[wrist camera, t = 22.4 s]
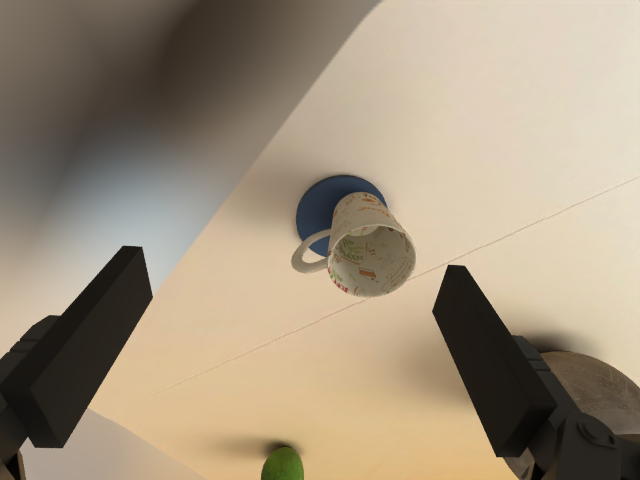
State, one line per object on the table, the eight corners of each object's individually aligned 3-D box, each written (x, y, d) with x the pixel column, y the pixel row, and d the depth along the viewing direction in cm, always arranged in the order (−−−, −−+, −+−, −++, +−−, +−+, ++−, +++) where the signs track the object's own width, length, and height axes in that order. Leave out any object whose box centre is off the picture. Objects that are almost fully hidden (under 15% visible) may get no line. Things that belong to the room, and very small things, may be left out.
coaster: (287, 184, 39) (287, 186, 38) (383, 167, 38) (385, 169, 37) (306, 262, 44) (306, 265, 44) (390, 248, 44) (391, 252, 43)
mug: (402, 229, 41) (427, 280, 33) (309, 265, 44) (308, 321, 35) (380, 169, 37) (401, 209, 29) (279, 212, 40) (270, 261, 31)
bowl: (552, 415, 64) (613, 511, 51) (450, 402, 61) (487, 500, 48) (627, 337, 53) (728, 433, 41) (508, 317, 51) (576, 413, 38)
